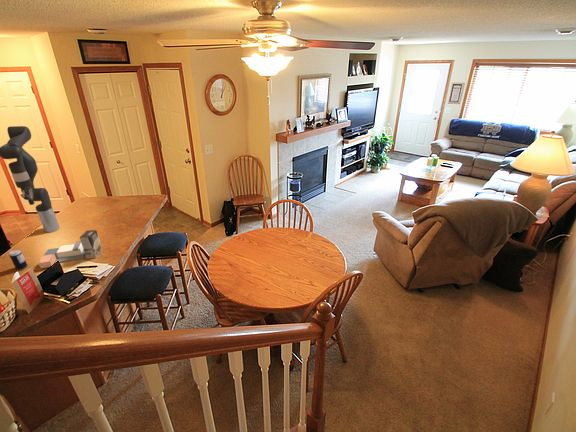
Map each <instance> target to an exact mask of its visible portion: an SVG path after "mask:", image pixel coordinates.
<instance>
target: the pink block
mask: <svg viewBox="0 0 576 432" xmlns="http://www.w3.org/2000/svg"><path fill="white" fill-rule="evenodd" d="M44 255H45V254H44ZM44 255H42V257H41V258H40V260H39V261H38V266H39V265H40V266H39V267H40V269H46V268H50V266H52V265H53V264H54V263H55V261H56V257H55V255H54V254H51V255H45V256H44ZM55 264H56V263H55ZM55 264H54V265H55ZM54 265H53V266H54ZM53 266H52V267H53Z"/></svg>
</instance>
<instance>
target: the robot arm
mask: <svg viewBox="0 0 576 432" xmlns="http://www.w3.org/2000/svg"><path fill="white" fill-rule="evenodd" d="M6 130H7V135H8V137H9V140H8V141H7V142H6V143H5V144H3V145H1V146H0V158H1V159H4V160H13V159H16V160H15V161H12V162H10V163H8V168H9V170H10V173H11V176H12V179H13V181H14V185H15V186H16V188H18V189H20V191H21V194H20V196H21V198H22V199H24V200H25V201H28V204H29V205H30V206H33V205H35V202H41V203H40V204H37V205H36V206H35V210H36V214H37V215H38V219H40V223H41V225H42V228H43V229H44V232H46V233H54V232H56V231H58V230H59V229H60V225H59V222H58V219H57V217H56V214H55V211H54V209H53V207H52V206H53V205H52V201H51V198H50V194H49V192H48V190H47V189H46V188H45V187H35V185H34V182H35V178H36V176H37V173H38V171H39V170H38V165H37V161H36V160H35V158H34V157H33V156H32V155H31V154H30V153H29V152H27V151H26V150H25V149H24V148H23V147H24V145H25V144H27V143H28V142H29V141H30V140H31V138H32V131H31V130H30V128H29V127H27V126H23V125H21V126H19V125H17V126H15V125H13V126H8V127H7V129H6Z"/></svg>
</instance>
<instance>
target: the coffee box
mask: <svg viewBox="0 0 576 432" xmlns="http://www.w3.org/2000/svg"><path fill="white" fill-rule="evenodd" d="M79 241H81V243H82V246H83V249H84V252H85V257H86V259H96V258H97V257H98V256H99V255H100V254H101V253H102V252H103V247H102V244H101V240H100V237H99V234H98V231H97V230H96V229H91V230H90V229H89V230H86V231H85V232H83V234H82V235H80V237H79Z"/></svg>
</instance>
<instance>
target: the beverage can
mask: <svg viewBox="0 0 576 432" xmlns="http://www.w3.org/2000/svg"><path fill="white" fill-rule="evenodd" d="M8 254H9V255H8V256H9V258H10V260H11V261H12V264H13V266H14V268H15V270H19V271H21V270H25V269H26V268H27V267H28V263H27V261H26V259H25V256H24V255H23V254H24V253H22V251H21V250H20V249H13V250H10V252H9V253H8Z"/></svg>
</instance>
